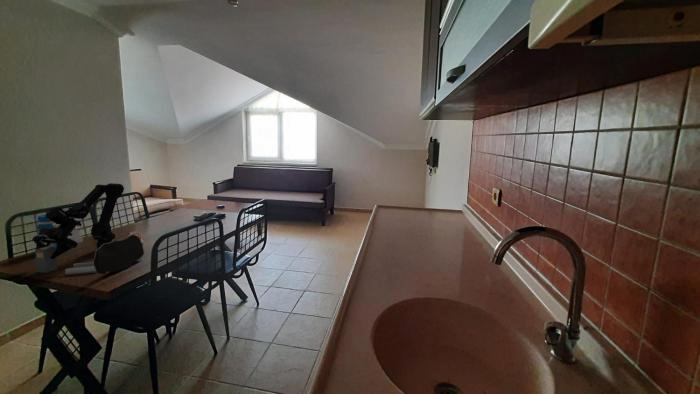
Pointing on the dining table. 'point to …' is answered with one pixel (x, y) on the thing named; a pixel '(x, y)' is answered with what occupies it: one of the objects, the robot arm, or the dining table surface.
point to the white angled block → (76, 236)
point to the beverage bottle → (46, 224)
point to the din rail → (81, 269)
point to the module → (45, 259)
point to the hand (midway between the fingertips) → (43, 258)
